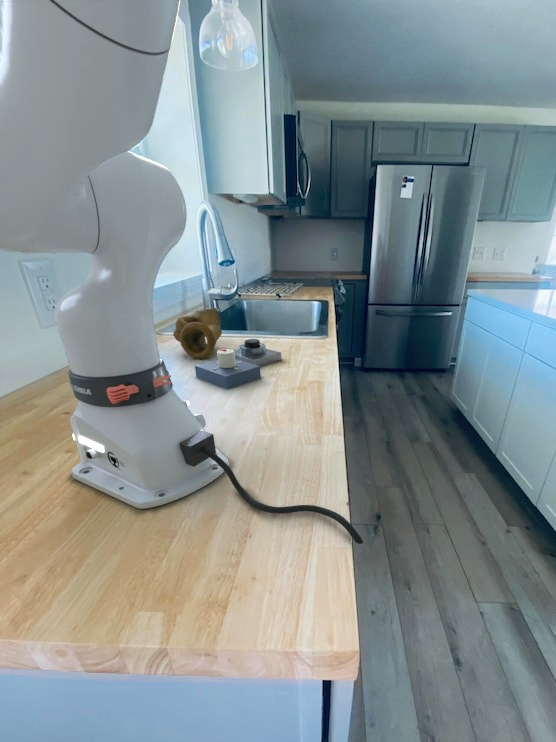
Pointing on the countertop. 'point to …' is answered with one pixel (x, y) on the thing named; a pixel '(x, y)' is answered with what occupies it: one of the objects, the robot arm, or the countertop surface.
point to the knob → (226, 358)
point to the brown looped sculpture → (198, 332)
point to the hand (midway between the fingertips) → (4, 132)
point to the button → (252, 343)
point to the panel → (228, 373)
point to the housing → (257, 355)
